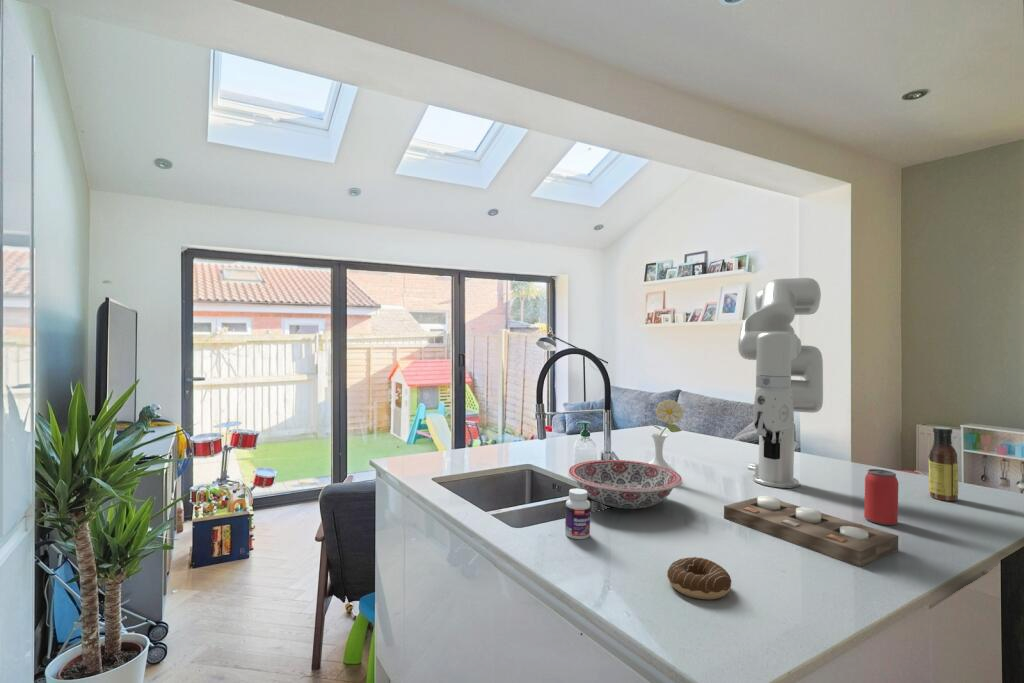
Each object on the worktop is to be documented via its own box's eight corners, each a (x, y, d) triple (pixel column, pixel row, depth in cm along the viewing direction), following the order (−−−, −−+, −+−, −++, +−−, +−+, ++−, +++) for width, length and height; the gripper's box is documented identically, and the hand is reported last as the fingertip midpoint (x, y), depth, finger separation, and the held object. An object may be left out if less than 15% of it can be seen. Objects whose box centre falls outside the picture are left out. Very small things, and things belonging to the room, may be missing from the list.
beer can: (893, 519, 124) (894, 470, 124) (901, 528, 118) (902, 477, 118) (861, 514, 127) (862, 467, 127) (867, 523, 121) (868, 473, 121)
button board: (723, 517, 123) (724, 504, 123) (763, 507, 132) (763, 494, 132) (859, 566, 98) (860, 549, 98) (898, 550, 106) (898, 534, 106)
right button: (834, 538, 108) (835, 528, 108) (847, 533, 111) (847, 524, 111) (860, 546, 104) (861, 536, 104) (872, 541, 106) (873, 532, 106)
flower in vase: (633, 480, 155) (635, 398, 155) (646, 472, 165) (648, 395, 164) (676, 487, 148) (678, 402, 147) (687, 479, 157) (689, 398, 157)
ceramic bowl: (597, 481, 154) (597, 454, 154) (695, 500, 137) (696, 470, 137) (547, 506, 130) (547, 475, 130) (658, 533, 113) (659, 498, 113)
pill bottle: (574, 541, 108) (575, 496, 108) (560, 532, 113) (561, 489, 113) (594, 537, 110) (595, 492, 110) (580, 528, 115) (581, 486, 115)
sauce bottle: (946, 495, 144) (948, 425, 144) (964, 502, 138) (965, 430, 138) (922, 494, 145) (923, 425, 145) (938, 501, 138) (939, 429, 138)
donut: (743, 603, 84) (744, 579, 84) (681, 605, 83) (682, 581, 83) (713, 573, 94) (713, 552, 94) (658, 574, 94) (658, 553, 94)
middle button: (791, 518, 116) (791, 509, 116) (803, 514, 119) (803, 506, 119) (813, 525, 112) (813, 516, 112) (825, 521, 115) (825, 512, 115)
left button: (752, 505, 124) (753, 497, 124) (765, 502, 127) (765, 494, 127) (772, 512, 120) (772, 503, 120) (784, 508, 123) (784, 500, 123)
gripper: (770, 385, 116) (768, 465, 116) (805, 383, 124) (804, 457, 124) (740, 382, 122) (738, 458, 122) (775, 380, 130) (774, 451, 130)
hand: (771, 458), depth 123 cm, fingers closed
